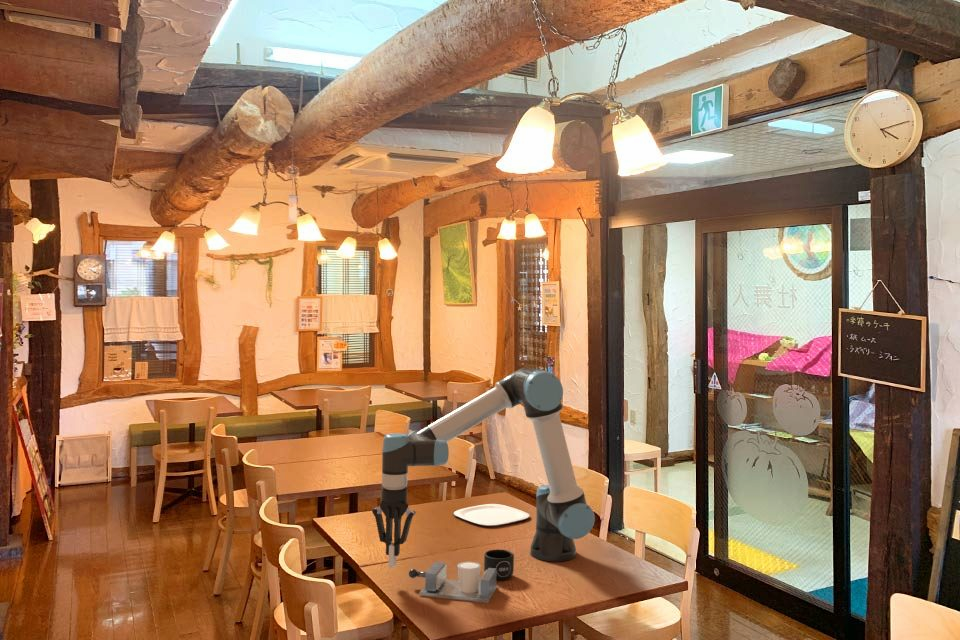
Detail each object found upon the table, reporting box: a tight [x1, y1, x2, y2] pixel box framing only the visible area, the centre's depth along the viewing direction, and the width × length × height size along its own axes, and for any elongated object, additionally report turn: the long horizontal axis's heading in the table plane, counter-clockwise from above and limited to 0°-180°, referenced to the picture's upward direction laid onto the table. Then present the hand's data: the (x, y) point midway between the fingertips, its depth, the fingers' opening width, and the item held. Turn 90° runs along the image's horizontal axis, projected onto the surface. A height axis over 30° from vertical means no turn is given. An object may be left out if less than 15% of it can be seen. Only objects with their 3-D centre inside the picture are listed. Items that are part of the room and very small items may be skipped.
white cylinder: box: [457, 561, 482, 593], centre depth 225 cm, size 7×7×7 cm
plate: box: [453, 503, 531, 527], centre depth 303 cm, size 25×25×2 cm
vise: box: [419, 568, 498, 604], centre depth 226 cm, size 20×12×6 cm, turn 77°
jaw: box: [408, 561, 448, 591], centre depth 228 cm, size 10×10×5 cm
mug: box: [483, 549, 515, 581], centre depth 240 cm, size 12×9×7 cm
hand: (392, 565), depth 231 cm, fingers closed
